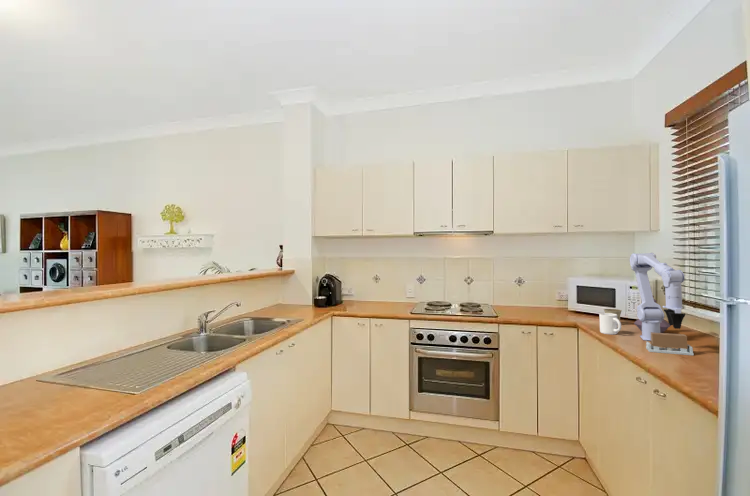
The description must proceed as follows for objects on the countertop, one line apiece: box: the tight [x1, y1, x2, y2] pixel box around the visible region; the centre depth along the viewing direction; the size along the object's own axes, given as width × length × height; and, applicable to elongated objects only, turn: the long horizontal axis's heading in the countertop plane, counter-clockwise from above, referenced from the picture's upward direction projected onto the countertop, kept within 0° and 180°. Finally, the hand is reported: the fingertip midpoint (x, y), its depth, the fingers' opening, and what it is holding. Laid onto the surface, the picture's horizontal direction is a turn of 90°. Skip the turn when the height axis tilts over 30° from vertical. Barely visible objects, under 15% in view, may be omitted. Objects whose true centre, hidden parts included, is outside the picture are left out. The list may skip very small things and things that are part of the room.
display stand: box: [645, 341, 694, 356], centre depth 158 cm, size 7×15×3 cm, turn 62°
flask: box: [633, 295, 672, 333], centre depth 196 cm, size 16×16×20 cm
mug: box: [598, 312, 622, 336], centre depth 194 cm, size 12×8×10 cm
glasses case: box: [650, 332, 688, 349], centre depth 158 cm, size 4×12×6 cm, turn 62°
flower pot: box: [603, 308, 623, 322], centre depth 219 cm, size 9×9×9 cm
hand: (674, 326), depth 161 cm, fingers open, 7 cm apart
